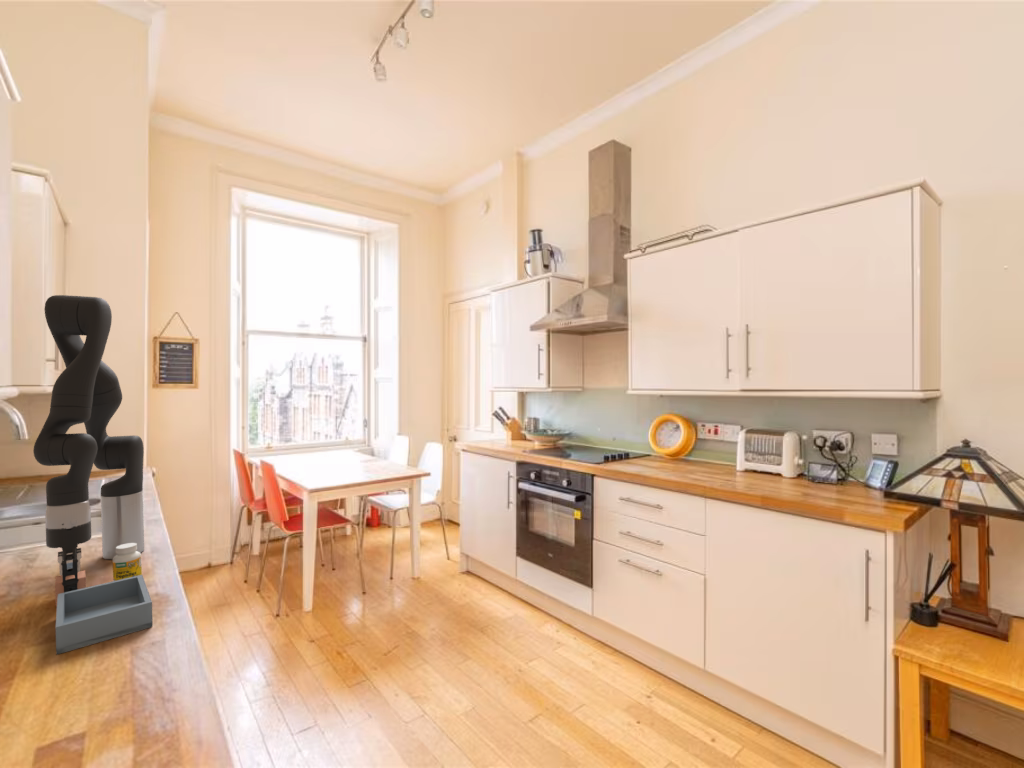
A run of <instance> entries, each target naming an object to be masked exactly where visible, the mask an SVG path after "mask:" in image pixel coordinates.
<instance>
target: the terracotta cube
mask: <svg viewBox="0 0 1024 768" xmlns="http://www.w3.org/2000/svg"><path fill="white" fill-rule="evenodd" d="M86 576H87V575H86V569H85V570H80V572H78V579H79V581H78V583H77V590H78V589H82V588H86V587H87V585H86V584H87V582H86V581H87V580H86V579H87V578H86ZM72 578H75V575H70V576H66V580H67V579H72ZM54 582H55V583H54V589H55V590H54V592H55V594H54V596H55V597H54V598H55V607H57V598H58V594H60V593H64V586H63V585H62V582H63V577H62V576H61V575H55V580H54Z"/></svg>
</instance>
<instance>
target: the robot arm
mask: <svg viewBox="0 0 1024 768" xmlns="http://www.w3.org/2000/svg"><path fill="white" fill-rule="evenodd" d="M44 316H45V317H44V318H45V320H46V323H47V327H48V329H49V332H50V334H51V336H52V338H53V341H54V342H55V344H56V347H57V349H58V351H59V353H60V355H61V358H62V359H63V362H64V366H65V369H64V370H63V371H62V372H61V373H60V374H59V376H58V377H57V378H56V380H55V382H54V384H53V387H52V391H51V399H50V405H49V406H50V408H49V414H48V416H47V418H46V420H45V422H44V424H43V426H42V428H41V430H40V432H39V434H38V436H37V437H36V440H35V442H34V445H33V456H34V458H35V460H36V462H37V463H39V464H40V465H42V466H47V467H50V466H51V467H55V466H70V467H69V469H68V471H67V473H66V474H64V475H63V474H62V475H58V476H54V477H51V478H49V479H48V480H47V482H46V484H45V493H46V509H45V515H44V517H45V542H46V544H45V545H46V547H47V548H51V549H58V548H61V550H62V551H57V563H58V564H59V565H58V566H59V576H62V577H63V582H62V585H63V586H64V593H65V592H69V591H73V590H77V583H78V581H79V579H78V572H80V571H81V558H82V557H83V556H82V547H78V545H81V544H84V543H87V542H88V541H90V540H91V539H92V514H91V504H90V500H89V499H90V495H89V494H90V493H89V481H90V477H91V474H92V469H93V468H94V467H93V466H95V468H97V469H98V470H99V471H100V470H102V471H104V470H105V471H109V470H110V471H112V470H125V472H124V475H122V476H121V477H119V478H116V479H114V480H112V481H111V480H110V481H108V482H106V483H104V484H102V485H101V486H100V511H101V513H100V515H101V517H100V518H101V544H102V558H103V559H105V560H113V558H114V557H115V556H116V555H117V554H116V547H117V546H119V545H122V544H127V543H137V550H136V551H138V552H140V553H143V552H144V551H145V524H144V523H145V522H144V521H145V519H144V517H145V516H144V495H143V493H144V492H143V490H144V488H143V487H144V486H143V484H144V483H143V482H144V454H145V452H144V450H145V449H144V441H143V440H142V438H141V437H140V436H139V435H117V436H116V435H115V436H109V435H108V433H107V427H108V425H109V422H110V421H111V420H112V418H113V417H114V415H115V413H116V412H117V410H118V409H119V408H120V406H121V405H122V400H123V393H122V389H121V385H120V381H119V378H118V375H117V374H116V373H115V371H114V370H113V369H112V368H111V367H110V366H108V365H107V363H106V362H104V361H103V360H102V359H103V356H104V353H105V349H106V345H107V342H108V338H109V335H110V332H111V327H112V322H113V321H112V320H113V319H112V309H111V307H110V304H109V303H108V301H107V300H106V299H104V298H102V297H96V296H84V295H82V296H81V295H67V294H65V295H64V294H63V295H62V294H56V295H55V294H54V295H50V296H49V297H48V298H47V299H46V301H45V303H44ZM81 336H86V337H85V341H83V339H82V337H81ZM79 424H84V427H85V431H86V433H84V432H81V433H67V432H68V431H69V429H70V428H71V427H73V426H75V425H79ZM70 575H75V578H72V579H67V580H66V576H70Z"/></svg>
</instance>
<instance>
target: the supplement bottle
mask: <svg viewBox="0 0 1024 768" xmlns="http://www.w3.org/2000/svg"><path fill="white" fill-rule="evenodd" d="M136 550H137V543H127V544H122V545H119V546H117V547H116V554H117V555H116V556H115V557H114V558H113V559H112V576H113V577H112V581H117V580H121V579H125V578H130V577H134V576H138V575H143V571H142V570H143V569H142V554H141V553H142V552H141V553H140V552H138V551H136Z"/></svg>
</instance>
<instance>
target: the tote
mask: <svg viewBox="0 0 1024 768" xmlns="http://www.w3.org/2000/svg"><path fill="white" fill-rule="evenodd" d="M148 589H149V588H148V586H147V584H146V581H145V578H144V575H143V574H142V575H138V576H134V577H130V578H125V579H121V580H117V581H113V580H112V581H110V582H109V581H108V582H104V583H100V584H96V585H92V586H88V587H87V586H86V588H82V589H78V590H73V591H69V592H65V593H60V594H58V598H57V606H56V613H55V614H56V615H55V616H56V617H55V649H56V656H57V655H60V654H64V653H67V652H70V651H74V650H78V649H82V648H83V647H87V646H92V645H94V644H97V643H98V644H99V643H102V642H105V641H108V640H109V641H110V640H112V639H115V638H119V637H122V636H125V635H129V634H133V633H136V632H139V631H143V630H146V629H147V630H148V629H149V628H152V627H153V600H152V598H151V595H150V592H149V590H148Z"/></svg>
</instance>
